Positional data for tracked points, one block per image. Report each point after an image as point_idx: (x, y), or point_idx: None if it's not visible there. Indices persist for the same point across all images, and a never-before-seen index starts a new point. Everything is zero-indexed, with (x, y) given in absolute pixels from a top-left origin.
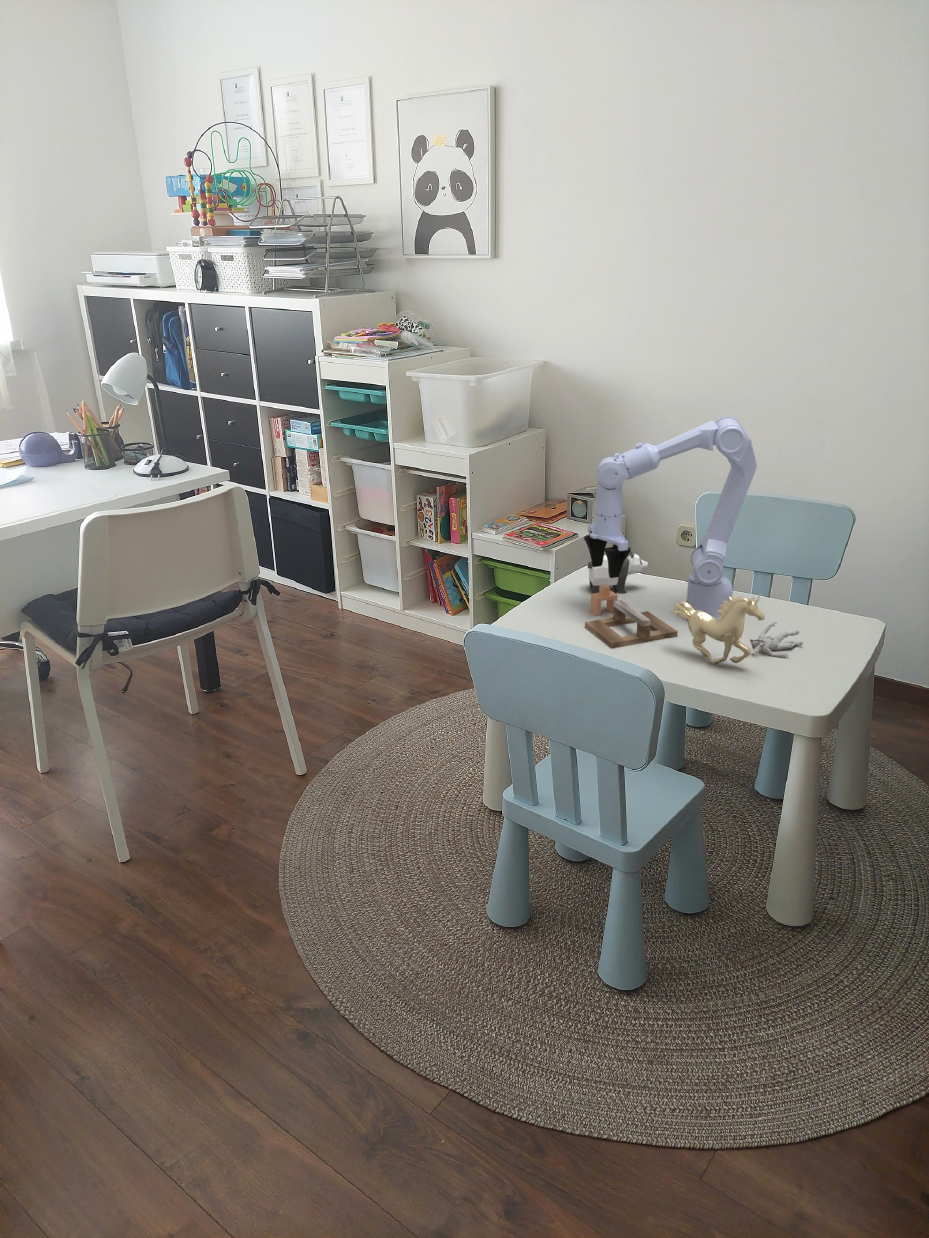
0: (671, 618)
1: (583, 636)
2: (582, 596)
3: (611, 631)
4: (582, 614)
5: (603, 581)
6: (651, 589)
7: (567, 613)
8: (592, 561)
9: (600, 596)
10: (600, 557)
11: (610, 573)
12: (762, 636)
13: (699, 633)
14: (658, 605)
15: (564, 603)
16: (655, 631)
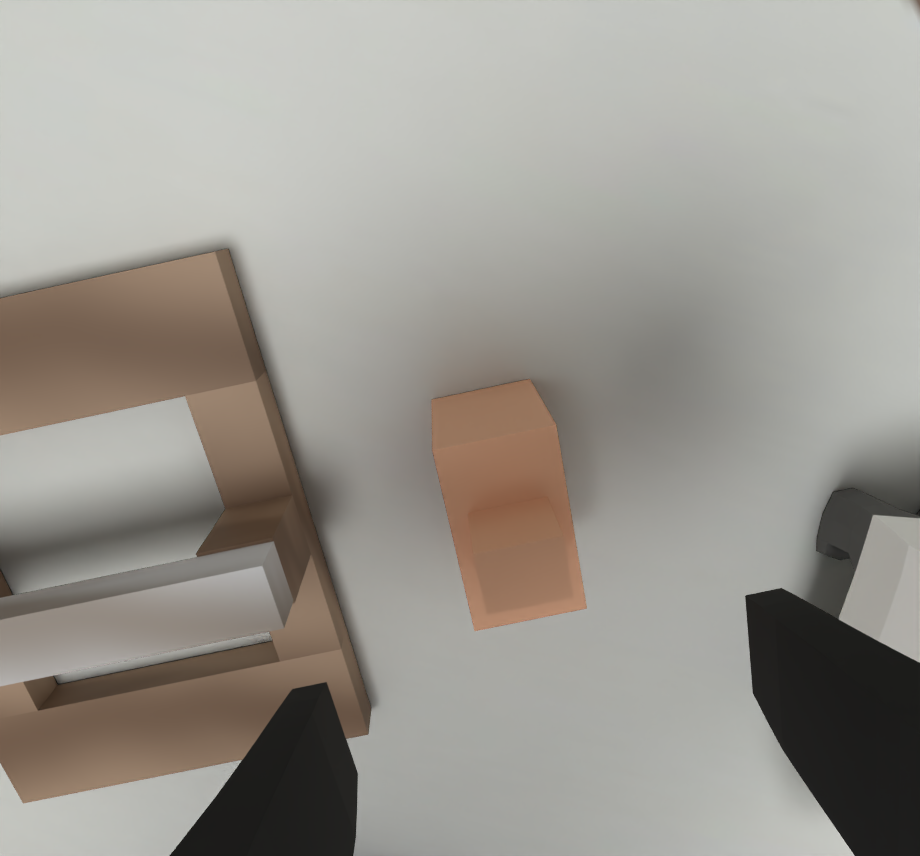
0: None
1: (39, 183)
2: (822, 401)
3: (11, 408)
4: (481, 302)
5: (866, 607)
6: (771, 831)
7: (527, 184)
8: (802, 627)
9: (472, 489)
10: (829, 775)
11: (262, 735)
12: None
13: None
14: (522, 802)
15: (737, 219)
16: (16, 688)
